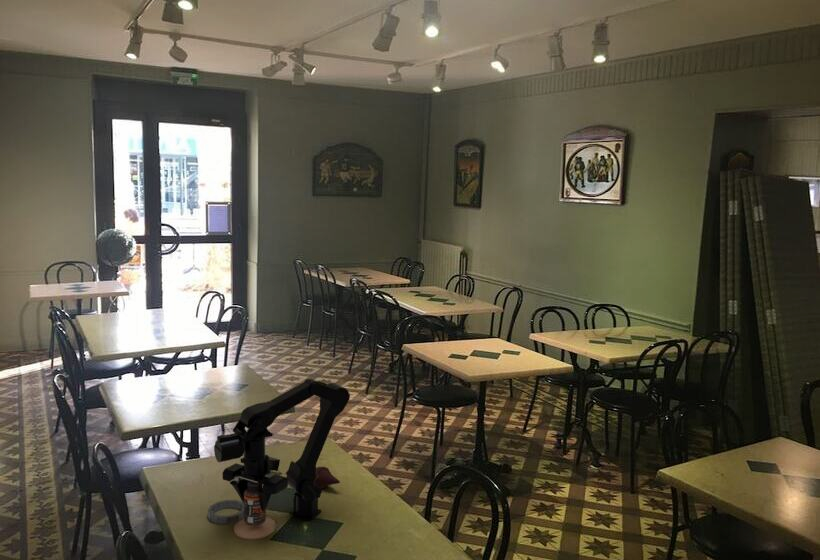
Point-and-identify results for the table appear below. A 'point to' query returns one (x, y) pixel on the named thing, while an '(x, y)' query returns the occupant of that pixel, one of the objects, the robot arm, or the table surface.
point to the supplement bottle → (253, 505)
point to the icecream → (324, 477)
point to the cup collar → (223, 505)
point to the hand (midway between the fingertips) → (255, 507)
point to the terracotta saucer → (254, 529)
